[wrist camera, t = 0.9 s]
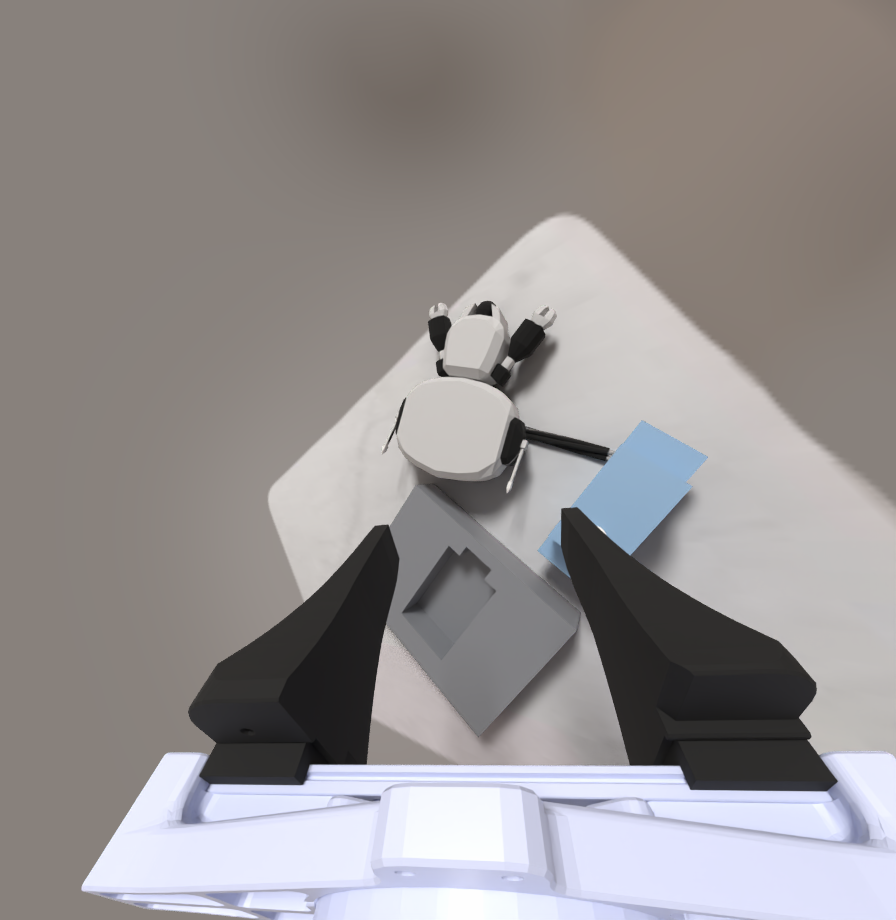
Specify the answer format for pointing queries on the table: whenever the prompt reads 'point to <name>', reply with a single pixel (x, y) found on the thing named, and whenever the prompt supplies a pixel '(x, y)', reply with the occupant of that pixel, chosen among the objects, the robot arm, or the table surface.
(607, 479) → the block
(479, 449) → the robot toy
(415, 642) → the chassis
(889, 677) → the table surface
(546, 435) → the electrical cable
